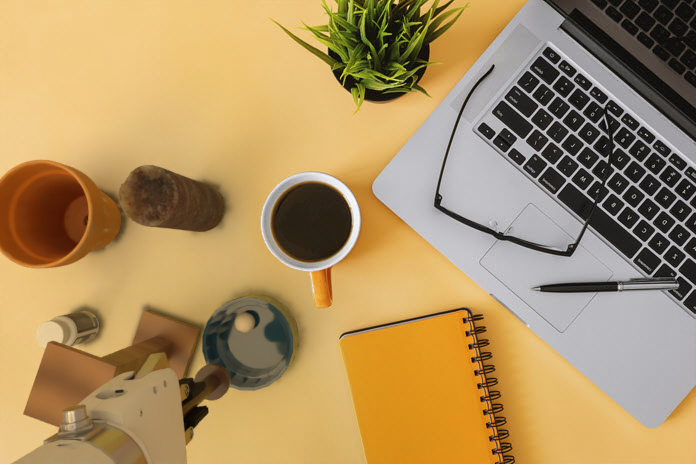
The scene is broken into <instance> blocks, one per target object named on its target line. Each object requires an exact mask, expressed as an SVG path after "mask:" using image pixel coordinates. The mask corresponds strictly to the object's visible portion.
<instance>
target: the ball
mask: <svg viewBox="0 0 696 464" xmlns="http://www.w3.org/2000/svg"><path fill="white" fill-rule="evenodd" d="M254 326H255V318H254V316H253V315H252V314H250V313H248V312H243V313H240V314H239V315H238V316H237V317H236V319H235V327H236V329H237V330H238V331H240V332H242V333H247V332H250V331H251V330H252V329H253V328H254Z"/></svg>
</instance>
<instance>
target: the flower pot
mask: <svg viewBox="0 0 696 464" xmlns="http://www.w3.org/2000/svg"><path fill="white" fill-rule="evenodd" d="M121 226H122V214H121V210H120V208H119V206H118V204H117V203H116V202H115V200H114V199H113V198H111V197H110V196H109V195H107V194H106V193H105V192H103V191H102V190H100V189H99V186H98V185H97V184H96V183H95V181H93V179H91V178H90V177H89V175H87V174H86V173H84V172H82V171H80V170H79V169H77V168H74V167H72V166H70V165H67V164H64V163H60V162H57V161H54V160H49V159H33V160H28V161H25V162H22V163H20V164H17V165H15V166H13V167H12V168H10V169H9V170H8V171H6V172H5V173H4V174H3V175H2V176H1V177H0V254H2V255H3V256H4V257H5V258H6V259H7V260H9V261H11V262H12V263H14V264H16V265H19V266H22V267H25V268H29V269H36V270H37V269H38V270H39V269H51V268H60V267H61V268H62V267H65V266H70V265H72V264H75V263H76V262H79V261H80V260H82V259H84V257H86V256H88V255H89V254H90V253H91V252H94V251H96V250H97V251H98V250H99V249H102V248H105V247H106V246H108V245H110V244H111V243H112V242H113V241H114V240H115V239H116V237H117V236H118V234H119V232H120V231H121Z"/></svg>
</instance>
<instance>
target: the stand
mask: <svg viewBox="0 0 696 464" xmlns="http://www.w3.org/2000/svg"><path fill="white" fill-rule="evenodd" d="M201 331H202V328H201V327H197V326H195V325H192V324H189V323H186V322H183V321H180V320H178V319H175V318H172V317H169V316H167V315H163V314H160V313H157V312H155V311H152V310H148V309H146V310H143V312H142V315H141V318H140V321H139V324H138V327H137V330H136V333H135V336H134V339H133V341H132V345H129V346H126V347H124V348H121V349H119V350H116V351H114V352H111V353H108V354H106V355H103V356H99V355H97V354H96V355H95V354H93V353H89V352H88V351H85V350H82V349H78V348H76V347H74V346H71V347H70V346H67V345H65V344H62V343H59V342H56V341H50V342H48V343H47V346H46V349H44V351H43V355H42V358H41V360H40V363H39V366H38V369H37V372H36V374H35V378H34V381H33V384H32V386H31V390H30V392H29V394H28V398H27V401H26V404H25V407H24V410H23V413H22V415H23V416H26V417H29V418H32V419H34V420H37V421H40V422H43V423H46V424H48V425H51V426H54V427H57V428H58V429H59V428H60V427H61V422H62V421H63V415H62V410H64V409H66V408H68V407H72V406H76V405H78V404H79V403H80V402H81V401H82V400H84V399H85V398H86V397H87V396H88V395H90V394H91V393H92V392H94V391H95V390H96V389H98V388H99V387H101V386H102V385H104V384H105V383H107V382H108V381H110V380H111V379H113V378H114V377H116V376H118V375H120V374H122V373H126V372H130V371H135V374H136V375H137V373H138V372H139V370H140V369H141V367H142V366H143V364H144V363H145V361H146V360H147V358H148V357H149V355H150V354H154V353H163V352H165V353H166V355H167V359H168V362H169V365H170V368H171V369H172V370H173V371H174V372H175V373H176V375H177V377H178V380H180V379H183V378H186V376H187V373H188V370H189V367H190V365H191V361H192V358H193V355H194V352H195V350H196V346H197V344H198V340H199V338H200V335H201Z"/></svg>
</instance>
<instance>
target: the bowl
mask: <svg viewBox="0 0 696 464" xmlns="http://www.w3.org/2000/svg"><path fill="white" fill-rule="evenodd" d="M243 312H248V313H250V314H252V315H253V316H254V318H255V326H254V328H253V329H252V330H251V331H250V332H247V333H242V332H240V331H238V330H237V329H236V327H235V319H236V317H237V316H238V315H239V314H240V313H243ZM299 333H300V332H299V329H298V325H297V323H296V319H295V317H294V316H293V314H292V313H291V312H290V310H289V309H288V307H287V306H286V305H284V304H283V303H281V302H280V301H279V300H278V299H276V298H275V297H271V296H267V295H265V294H247V295H244V296H241V297H238V298H234V299H232V300H229V301H227V302H225V303H224V304H222V305H221V306H220V307H218V308H217V309H215V310H214V312H213V314H212V315H211V316H210V317H209V319H208V320H207V321H206V323H205V327H204V330H203V332H202V335H201V342H202V343H201V351H202V354H203V355H202V356H203V359H204V362H205V365H208V364H219V365H221V366H223V367H224V368H225V369H226V370H227V371H228V373H229V375H230V387H229V388H232V389H235V390H237V391H241V392H242V391H245V392H249V391H251V392H254V391H258V390H261V389H264V388H267V387H269V386H271V385H272V384H274V383H275V382H276V381H278V380H279V379H281V377H282V376H283V375H284V373H285V372H286V371H287V369H288V368H289V366H290V365H291V363H292V362H293V361H294V359H295V357H296V354H297V351H298V348H299Z"/></svg>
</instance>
